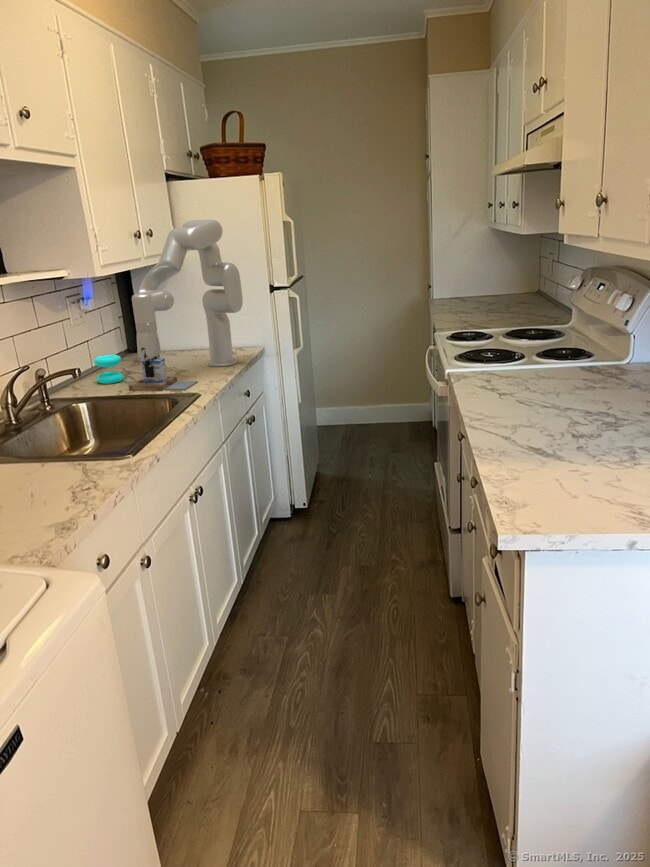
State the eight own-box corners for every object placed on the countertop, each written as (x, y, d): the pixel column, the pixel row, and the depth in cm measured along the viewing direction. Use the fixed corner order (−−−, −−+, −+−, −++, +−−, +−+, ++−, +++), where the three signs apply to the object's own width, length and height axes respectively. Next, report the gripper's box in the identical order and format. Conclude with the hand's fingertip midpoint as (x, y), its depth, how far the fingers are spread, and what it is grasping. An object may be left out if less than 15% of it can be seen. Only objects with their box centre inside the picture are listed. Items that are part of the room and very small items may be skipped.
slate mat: (178, 382, 251) (178, 380, 251) (197, 382, 250) (197, 380, 250) (165, 390, 240) (165, 388, 240) (185, 390, 239) (185, 388, 238)
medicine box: (143, 383, 246) (140, 361, 243) (148, 380, 250) (145, 358, 247) (163, 383, 245) (160, 360, 242) (167, 380, 249) (164, 358, 246)
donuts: (98, 360, 248) (90, 356, 256) (102, 386, 251) (94, 381, 259) (123, 356, 253) (115, 353, 261) (127, 381, 257) (119, 377, 264)
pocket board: (146, 381, 255) (145, 376, 255) (177, 381, 253) (176, 376, 252) (129, 390, 242) (128, 385, 242) (161, 390, 240) (160, 385, 239)
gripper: (147, 323, 249) (154, 369, 255) (126, 332, 233) (133, 381, 240) (165, 323, 247) (172, 369, 254) (145, 331, 232) (152, 381, 238)
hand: (153, 374), depth 246 cm, fingers closed on medicine box, 4 cm apart
